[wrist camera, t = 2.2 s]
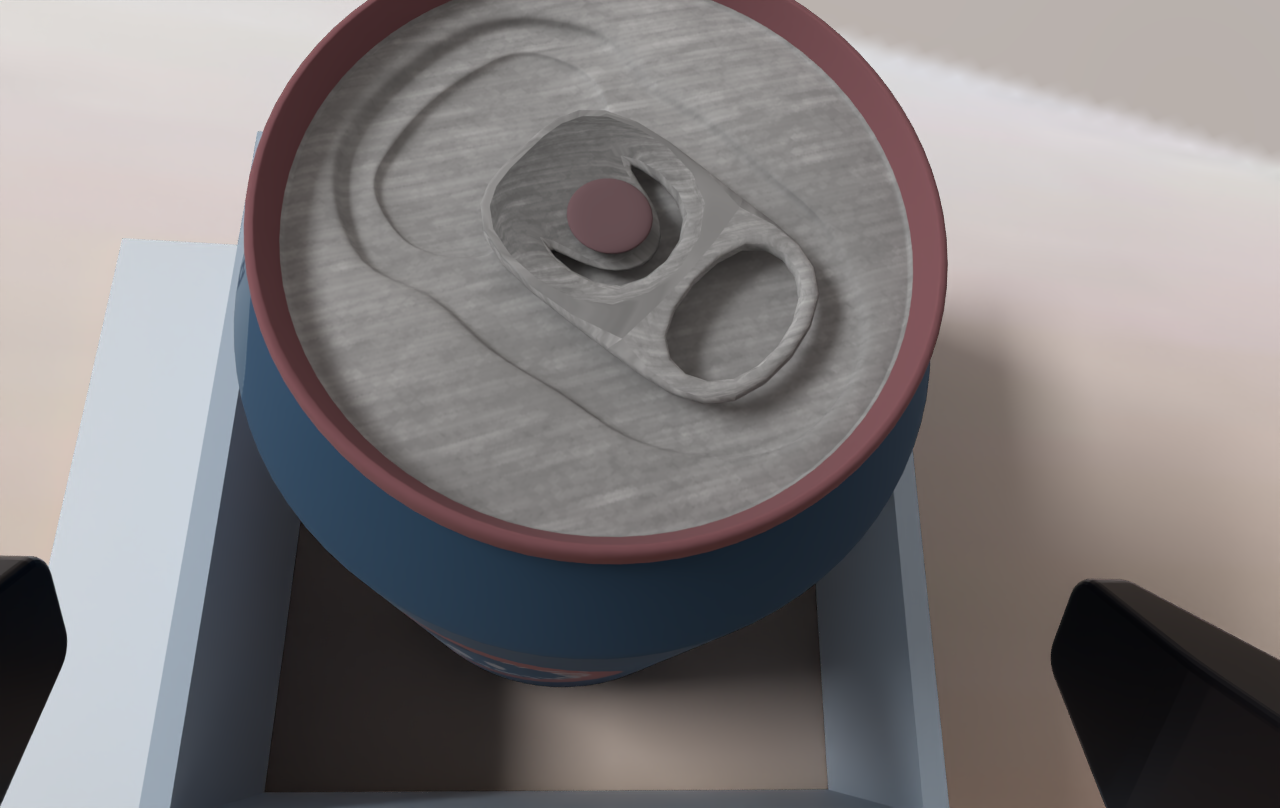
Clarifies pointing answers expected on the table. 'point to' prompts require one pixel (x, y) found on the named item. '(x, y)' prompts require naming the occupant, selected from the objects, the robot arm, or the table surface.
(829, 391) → the soda can
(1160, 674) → the robot arm
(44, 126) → the table surface
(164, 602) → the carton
